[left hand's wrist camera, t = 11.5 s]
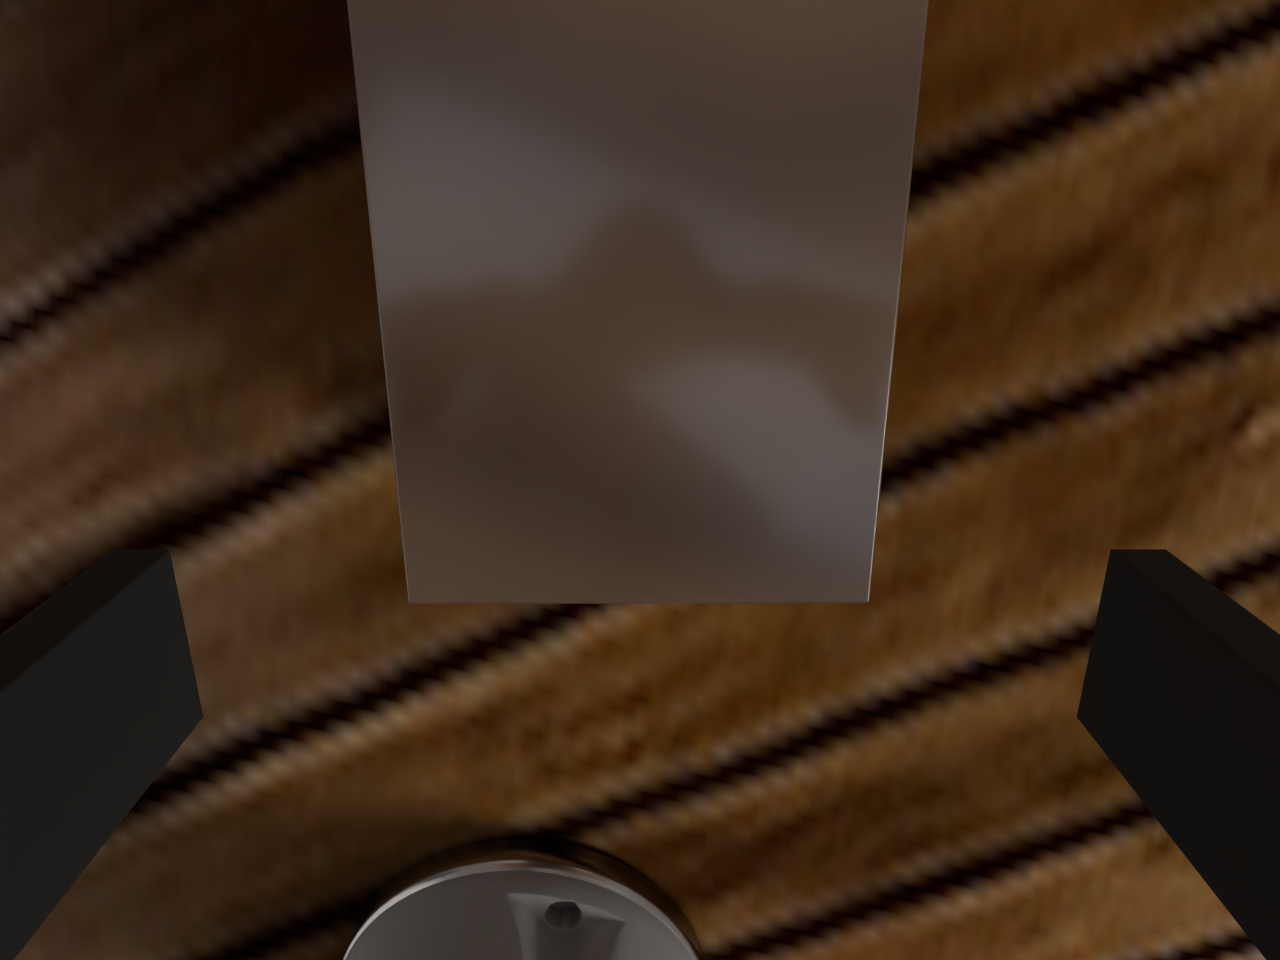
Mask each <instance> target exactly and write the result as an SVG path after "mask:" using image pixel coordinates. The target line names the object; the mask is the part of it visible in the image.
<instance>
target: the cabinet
mask: <svg viewBox="0 0 1280 960" xmlns="http://www.w3.org/2000/svg"><path fill="white" fill-rule="evenodd" d="M346 1H347V10H348V20H349V30H350V39H351V49H352V59H353V69H354V78H355V88H356V98H357V107H358V117H359V127H360V137H361V146H362V156H363V166H364V176H365V185H366V195H367V205H368V214H369V224H370V234H371V244H372V253H373V263H374V273H375V282H376V292H377V302H378V312H379V321H380V331H381V341H382V350H383V360H384V370H385V380H386V389H387V399H388V409H389V418H390V428H391V438H392V448H393V457H394V467H395V477H396V487H397V496H398V506H399V516H400V525H401V535H402V545H403V555H404V564H405V574H406V584H407V593H408V601H409V603H410V604H596V603H868V602H869V600H870V590H871V580H872V570H873V560H874V550H875V539H876V529H877V519H878V509H879V499H880V489H881V479H882V469H883V459H884V448H885V438H886V428H887V418H888V408H889V398H890V388H891V378H892V368H893V357H894V347H895V337H896V327H897V317H898V307H899V297H900V287H901V277H902V266H903V256H904V246H905V236H906V226H907V216H908V206H909V196H910V186H911V175H912V165H913V155H914V145H915V135H916V125H917V115H918V105H919V95H920V84H921V74H922V64H923V54H924V44H925V34H926V24H927V14H928V4H929V0H346Z"/></svg>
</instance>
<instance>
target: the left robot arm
mask: <svg viewBox="0 0 1280 960" xmlns="http://www.w3.org/2000/svg"><path fill="white" fill-rule="evenodd" d="M202 718H203V714H202V709H201V704H200V699H199V694H198V689H197V684H196V679H195V674H194V669H193V664H192V659H191V654H190V649H189V645H188V640H187V635H186V630H185V625H184V620H183V615H182V610H181V605H180V600H179V595H178V590H177V585H176V580H175V575H174V570H173V565H172V561H171V556H170V551H169V550H113V551H112V552H110V553H109V554H108V555H106V556H105V557H104V558H102V559H101V560H100V561H98V562H97V563H96V564H94V565H93V566H92V567H90V568H89V569H88V570H86V571H85V572H84V573H82V574H81V575H80V576H78V577H77V578H76V579H74V580H73V581H72V582H70V583H69V584H68V585H66V586H65V587H64V588H62V589H61V590H60V591H58V592H57V593H56V594H54V595H53V596H51V597H50V598H49V599H47V600H46V601H45V602H43V603H42V604H41V605H39V606H38V607H37V608H35V609H34V610H33V611H31V612H30V613H29V614H27V615H26V616H25V617H23V618H22V619H21V620H19V621H18V622H17V623H15V624H14V625H13V626H11V627H10V628H9V629H7V630H6V631H5V632H3V633H2V634H1V635H0V960H14V959H15V957H16V956H17V955H18V953H19V952H20V951H21V950H22V948H23V947H24V946H25V944H26V943H27V942H28V941H29V939H30V938H31V937H32V935H33V934H34V933H35V932H36V930H37V929H38V928H39V927H40V925H41V924H42V923H43V921H44V920H45V919H46V918H47V916H48V915H49V914H50V912H51V911H52V910H53V909H54V907H55V906H56V905H57V903H58V902H59V901H60V900H61V898H62V897H63V896H64V894H65V893H66V892H67V891H68V889H69V888H70V887H71V886H72V884H73V883H74V882H75V880H76V879H77V878H78V877H79V875H80V874H81V873H82V871H83V870H84V869H85V868H86V866H87V865H88V864H89V862H90V861H91V860H92V859H93V857H94V856H95V855H96V853H97V852H98V851H99V850H100V848H101V847H102V846H103V845H104V843H105V842H106V841H107V839H108V838H109V837H110V836H111V834H112V833H113V832H114V830H115V829H116V828H117V827H118V825H119V824H120V823H121V821H122V820H123V819H124V818H125V816H126V815H127V814H128V812H129V811H130V810H131V809H132V807H133V806H134V805H135V804H136V802H137V801H138V800H139V798H140V797H141V796H142V795H143V793H144V792H145V791H146V789H147V788H148V787H149V786H150V784H151V783H152V782H153V780H154V779H155V778H156V777H157V775H158V774H159V773H160V771H161V770H162V769H163V768H164V766H165V765H166V764H167V763H168V761H169V760H170V759H171V757H172V756H173V755H174V754H175V752H176V751H177V750H178V748H179V747H180V746H181V745H182V743H183V742H184V741H185V739H186V738H187V737H188V736H189V734H190V733H191V732H192V730H193V729H194V728H195V727H196V725H197V724H198V723H199V722H200V720H201V719H202ZM1077 718H1078V719H1079V720H1080V722H1081V723H1082V724H1083V725H1084V727H1085V728H1086V729H1087V730H1088V732H1089V733H1090V734H1091V736H1092V737H1093V738H1094V739H1095V741H1096V742H1097V743H1098V745H1099V746H1100V747H1101V748H1102V750H1103V751H1104V752H1105V754H1106V755H1107V756H1108V757H1109V759H1110V760H1111V761H1112V763H1113V764H1114V765H1115V766H1116V768H1117V769H1118V770H1119V771H1120V773H1121V774H1122V775H1123V777H1124V778H1125V779H1126V780H1127V782H1128V783H1129V784H1130V786H1131V787H1132V788H1133V789H1134V791H1135V792H1136V793H1137V795H1138V796H1139V797H1140V798H1141V800H1142V801H1143V802H1144V804H1145V805H1146V806H1147V807H1148V809H1149V810H1150V811H1151V812H1152V814H1153V815H1154V816H1155V818H1156V819H1157V820H1158V821H1159V823H1160V824H1161V825H1162V827H1163V828H1164V829H1165V830H1166V832H1167V833H1168V834H1169V836H1170V837H1171V838H1172V839H1173V841H1174V842H1175V843H1176V845H1177V846H1178V847H1179V848H1180V850H1181V851H1182V852H1183V853H1184V855H1185V856H1186V857H1187V859H1188V860H1189V861H1190V862H1191V864H1192V865H1193V866H1194V868H1195V869H1196V870H1197V871H1198V873H1199V874H1200V875H1201V877H1202V878H1203V879H1204V880H1205V882H1206V883H1207V884H1208V886H1209V887H1210V888H1211V889H1212V891H1213V892H1214V893H1215V894H1216V896H1217V897H1218V898H1219V900H1220V901H1221V902H1222V903H1223V905H1224V906H1225V907H1226V909H1227V910H1228V911H1229V912H1230V914H1231V915H1232V916H1233V918H1234V919H1235V920H1236V921H1237V923H1238V924H1239V925H1240V927H1241V928H1242V929H1243V930H1244V932H1245V933H1246V934H1247V935H1248V937H1249V938H1250V939H1251V941H1252V942H1253V943H1254V944H1255V946H1256V947H1257V948H1258V950H1259V951H1260V952H1261V953H1262V955H1263V956H1264V957H1265V959H1266V960H1280V635H1279V634H1278V633H1277V632H1275V631H1274V630H1273V629H1271V628H1270V627H1269V626H1267V625H1266V624H1265V623H1263V622H1262V621H1261V620H1259V619H1258V618H1257V617H1255V616H1254V615H1253V614H1251V613H1250V612H1249V611H1247V610H1246V609H1245V608H1243V607H1242V606H1241V605H1239V604H1238V603H1237V602H1235V601H1234V600H1233V599H1231V598H1230V597H1229V596H1227V595H1226V594H1224V593H1223V592H1222V591H1220V590H1219V589H1218V588H1216V587H1215V586H1214V585H1212V584H1211V583H1210V582H1208V581H1207V580H1206V579H1204V578H1203V577H1202V576H1200V575H1199V574H1198V573H1196V572H1195V571H1194V570H1192V569H1191V568H1190V567H1188V566H1187V565H1186V564H1184V563H1183V562H1182V561H1180V560H1179V559H1178V558H1176V557H1175V556H1174V555H1172V554H1171V553H1170V552H1168V551H1167V550H1111V551H1110V556H1109V561H1108V565H1107V570H1106V575H1105V580H1104V585H1103V590H1102V595H1101V600H1100V605H1099V610H1098V615H1097V620H1096V625H1095V630H1094V635H1093V640H1092V645H1091V649H1090V654H1089V659H1088V664H1087V669H1086V674H1085V679H1084V684H1083V689H1082V694H1081V699H1080V704H1079V709H1078V714H1077ZM343 960H705V959H704V954H703V951H702V948H701V944H700V942H699V939H698V937H697V935H696V933H695V930H694V929H693V927H692V925H691V923H690V922H689V920H688V918H687V917H686V916H685V914H684V913H683V912H682V910H681V909H680V908H679V906H678V905H677V904H676V903H675V902H674V901H673V900H672V899H671V898H670V897H669V896H668V894H666V893H665V892H664V891H663V890H662V889H661V888H660V887H658V886H657V885H656V884H655V883H654V882H652V881H651V880H649V879H648V878H647V877H645V876H644V875H642V874H641V873H639V872H637V871H636V870H634V869H632V868H631V867H629V866H627V865H625V864H623V863H621V862H619V861H617V860H615V859H613V858H610V857H608V856H605V855H602V854H600V853H597V852H594V851H591V850H588V849H584V848H581V847H577V846H573V845H568V844H563V843H558V842H550V841H542V840H524V839H514V840H496V841H488V842H480V843H475V844H470V845H465V846H461V847H458V848H454V849H451V850H448V851H445V852H442V853H440V854H437V855H434V856H432V857H429V858H427V859H425V860H423V861H421V862H419V863H417V864H415V865H414V866H412V867H410V868H409V869H407V870H406V871H404V872H402V873H401V874H399V875H398V876H397V877H396V878H394V879H393V880H392V881H390V882H389V883H388V884H387V885H386V886H385V887H384V888H383V889H382V890H381V891H380V892H379V893H378V894H377V895H376V896H375V897H374V898H373V900H372V901H371V902H370V903H369V904H368V906H367V907H366V909H365V910H364V912H363V913H362V915H361V917H360V918H359V921H358V923H357V925H356V927H355V929H354V931H353V934H352V937H351V940H350V942H349V945H348V948H347V950H346V953H345V956H344V958H343Z"/></svg>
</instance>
